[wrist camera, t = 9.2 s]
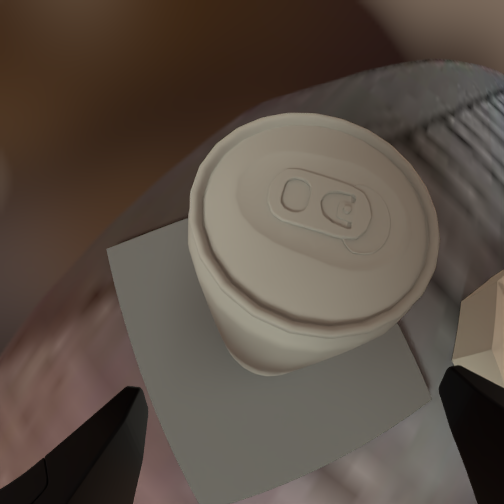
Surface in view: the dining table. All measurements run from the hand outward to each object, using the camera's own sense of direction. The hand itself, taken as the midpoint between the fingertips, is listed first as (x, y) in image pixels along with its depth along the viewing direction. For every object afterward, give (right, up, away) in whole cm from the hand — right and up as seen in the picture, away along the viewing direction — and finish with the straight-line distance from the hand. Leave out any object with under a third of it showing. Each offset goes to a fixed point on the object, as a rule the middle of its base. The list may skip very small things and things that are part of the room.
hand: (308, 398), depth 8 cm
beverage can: (-1, 0, +9) cm, 9 cm away
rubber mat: (-1, -1, +9) cm, 9 cm away
